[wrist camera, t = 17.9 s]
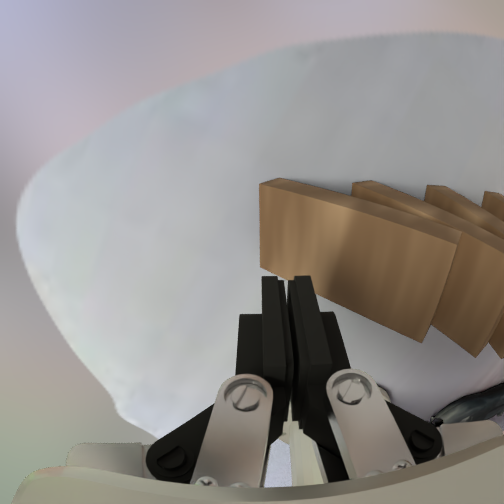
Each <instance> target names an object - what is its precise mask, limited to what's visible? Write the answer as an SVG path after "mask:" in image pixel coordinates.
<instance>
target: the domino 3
mask: <svg viewBox="0 0 504 504" xmlns="http://www.w3.org/2000/svg"><path fill="white" fill-rule="evenodd" d="M424 202H427V203H429V204H431V205H434V206H436V207H438V208H440V209H443V210H445V211H447V212H449V213H451V214H454V215H456V216H458V217H460V218H462V219H464V220H466V221H468V222H470V223H472V224H474V225H476V226H478V227H480V228H482V229H484V230H486V231H488V232H490V233H492V234H494V235H496V236H498V237H500V238H502V239H503V240H504V222H503V221H502V220H500V219H499V218H497V217H495V216H494V215H492V214H491V213H489V212H488V211H486V210H485V209H483V208H481V207H480V206H478V205H477V204H475V203H473V202H472V201H470V200H468V199H467V198H465V197H463V196H462V195H460V194H458V193H456V192H455V191H453V190H451V189H449V188H447V187H446V186H435V185H427V188H426V194H425V200H424ZM489 344H490V345H491V346H492V348H493V349H494V350H495V351H496V353H497V354H498V355H499V357H500V358H501V359H502V358H504V313H503V315H502V317H501V319H500V321H499V323H498V325H497V327H496V329H495V331H494V333H493V335H492V336H491V338H490V340H489Z"/></svg>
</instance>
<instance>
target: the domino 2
mask: <svg viewBox="0 0 504 504" xmlns="http://www.w3.org/2000/svg"><path fill="white" fill-rule="evenodd" d="M351 196H353V197H356V198H360V199H363V200H367V201H370V202H373V203H377V204H380V205H384V206H387V207H390V208H393V209H397V210H400V211H403V212H406V213H409V214H412V215H415V216H418V217H421V218H424V219H427V220H430V221H433V222H436V223H439V224H442V225H445V226H448V227H450V228H453V229H456V230H459V231H462V234H461V238H460V241H459V245H458V248H457V252H456V255H455V259H454V262H453V265H452V268H451V271H450V275H449V278H448V281H447V283H446V286H445V289H444V292H443V295H442V297H441V300H440V303H439V305H438V308H437V311H436V313H435V316H434V318H433V321H432V323H431V325H433V326H434V327H435V328H437V329H438V330H439V331H441V332H442V333H443V334H445V335H446V336H447V337H449V338H450V339H451V340H453V341H454V342H455V343H457V344H458V345H459V346H461V347H462V348H463V349H465V350H466V351H467V352H468V353H470V354H471V355H472V356H474V357H475V358H476V357H477V356H478V354H479V353H480V352H481V351H482V350H483V348H484V347H485V346H486V345H487V343H488V342H489V340H490V338H491V336H492V335H493V333H494V331H495V329H496V327H497V325H498V323H499V321H500V319H501V317H502V315H503V313H504V240H503V239H502V238H500V237H498V236H496V235H494V234H492V233H490V232H488V231H486V230H484V229H482V228H480V227H478V226H476V225H474V224H472V223H470V222H468V221H466V220H464V219H462V218H460V217H458V216H456V215H454V214H451V213H449V212H447V211H445V210H443V209H440V208H438V207H436V206H434V205H431V204H429V203H427V202H424V201H422V200H420V199H417V198H415V197H413V196H410V195H408V194H405V193H403V192H400V191H398V190H395V189H393V188H390V187H387V186H385V185H382V184H380V183H377V182H374V181H372V180H370V181H363V182H355V183H352V193H351Z"/></svg>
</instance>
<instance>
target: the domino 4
mask: <svg viewBox="0 0 504 504" xmlns="http://www.w3.org/2000/svg"><path fill="white" fill-rule="evenodd" d="M481 208H483V209H485V210H486V211H488V212H489V213H491V214H492V215H494V216H495V217H497V218H499V219H500V220H502V221H503V222H504V196H503V195H501V194H499V193H495V192H488V191H485V192H484V197H483V202H482V207H481Z"/></svg>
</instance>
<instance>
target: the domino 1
mask: <svg viewBox="0 0 504 504" xmlns="http://www.w3.org/2000/svg"><path fill="white" fill-rule="evenodd" d="M259 204H260V267H261V268H263V269H265V270H267V271H269V272H271V273H274V274H276V275H278V276H280V277H282V278H284V279H286V280H294V276H303V275H310V276H311V279H312V283H313V287H314V291H315V294H318V295H320V296H322V297H324V298H326V299H328V300H330V301H332V302H334V303H336V304H339V305H341V306H343V307H345V308H347V309H349V310H351V311H353V312H356V313H358V314H360V315H362V316H364V317H366V318H368V319H370V320H373V321H375V322H377V323H379V324H381V325H383V326H385V327H388V328H390V329H392V330H394V331H396V332H398V333H400V334H403V335H405V336H407V337H409V338H411V339H413V340H416V341H418V342H420V343H422V341H423V340H424V338H425V336H426V334H427V332H428V329H429V327H430V325H431V323H432V321H433V318H434V316H435V313H436V311H437V308H438V305H439V303H440V300H441V297H442V295H443V292H444V289H445V286H446V283H447V281H448V278H449V275H450V271H451V268H452V265H453V262H454V259H455V255H456V252H457V248H458V245H459V241H460V238H461V234H462V231H459V230H456V229H453V228H450V227H448V226H445V225H442V224H439V223H436V222H433V221H430V220H427V219H424V218H421V217H418V216H415V215H412V214H409V213H406V212H403V211H400V210H397V209H393V208H390V207H387V206H384V205H380V204H377V203H373V202H370V201H367V200H363V199H360V198H356V197H353V196H349V195H345V194H342V193H338V192H334V191H330V190H327V189H323V188H319V187H315V186H311V185H307V184H303V183H299V182H294V181H290V180H286V179H282V178H277V179H274V180H270V181H267V182H264V183H260V184H259Z"/></svg>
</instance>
